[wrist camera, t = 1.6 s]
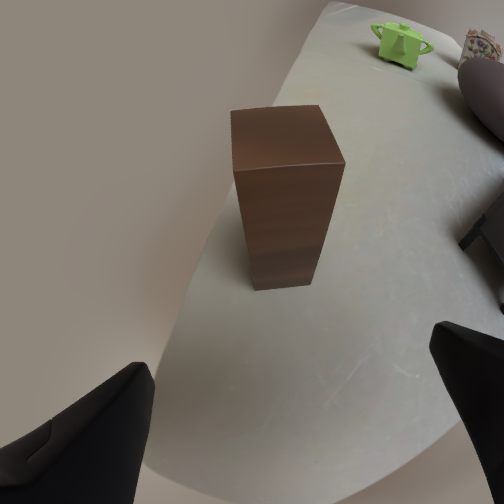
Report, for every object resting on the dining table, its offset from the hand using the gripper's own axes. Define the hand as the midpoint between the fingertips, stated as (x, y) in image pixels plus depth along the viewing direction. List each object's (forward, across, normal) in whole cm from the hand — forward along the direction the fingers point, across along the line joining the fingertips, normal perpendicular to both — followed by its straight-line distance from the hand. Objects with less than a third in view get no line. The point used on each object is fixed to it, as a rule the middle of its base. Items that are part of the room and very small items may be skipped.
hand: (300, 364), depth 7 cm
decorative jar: (+54, -71, -34) cm, 96 cm away
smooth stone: (+33, -50, -13) cm, 61 cm away
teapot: (+50, -37, -31) cm, 70 cm away
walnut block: (+16, -1, +3) cm, 16 cm away
